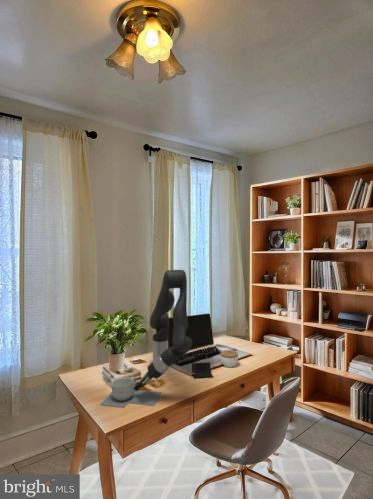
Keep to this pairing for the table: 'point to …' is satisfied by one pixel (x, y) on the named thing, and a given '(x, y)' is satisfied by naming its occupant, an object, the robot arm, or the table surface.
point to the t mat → (134, 399)
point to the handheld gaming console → (201, 370)
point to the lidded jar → (229, 358)
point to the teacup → (123, 388)
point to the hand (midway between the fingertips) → (135, 389)
